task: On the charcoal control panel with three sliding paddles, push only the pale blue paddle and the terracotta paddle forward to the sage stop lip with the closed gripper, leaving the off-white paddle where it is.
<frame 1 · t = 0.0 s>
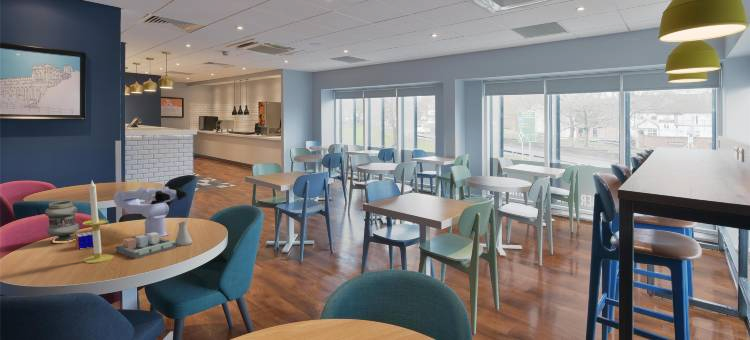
hand: (177, 195, 183), 22 cm above the table, tool horizontal, fingers open, 7 cm apart
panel: (146, 249, 175), on the table
paddle white: (153, 238, 180), point 3 cm above the table, slide at 0.0 cm
paddle blue: (141, 240, 176), point 3 cm above the table, slide at 0.0 cm
paddle terracotta: (129, 243, 172), point 3 cm above the table, slide at 0.0 cm
rubik's cube: (85, 247, 178), on the table
apothecary jar: (64, 241, 186), on the table
candle: (98, 259, 163), on the table
flask: (183, 244, 184), on the table
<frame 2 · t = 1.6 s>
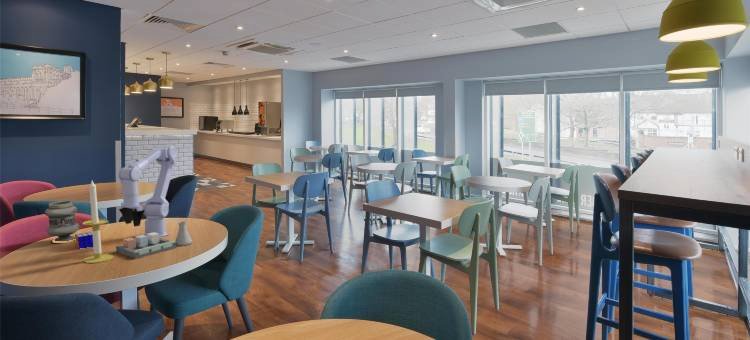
hand: (132, 224, 179), 9 cm above the table, tool pointing down, fingers open, 7 cm apart
nothing on the table moved.
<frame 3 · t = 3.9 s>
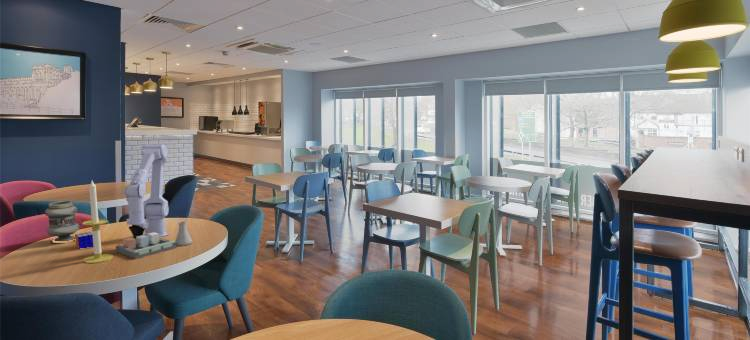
hand: (138, 241, 178), 2 cm above the table, tool pointing down, fingers closed
paddle blue: (142, 241, 176), point 3 cm above the table, slide at 0.5 cm, touching gripper
everything else where it was.
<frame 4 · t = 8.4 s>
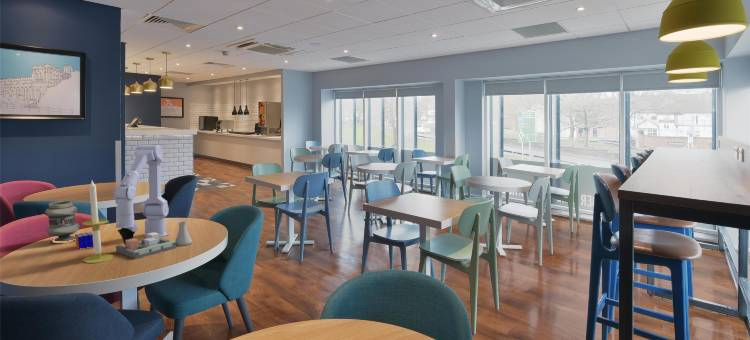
hand: (128, 245, 173), 2 cm above the table, tool pointing down, fingers closed
paddle blue: (150, 243, 172), point 3 cm above the table, slide at 7.5 cm
paddle terracotta: (132, 244, 171), point 3 cm above the table, slide at 2.0 cm, touching gripper
everything else where it was.
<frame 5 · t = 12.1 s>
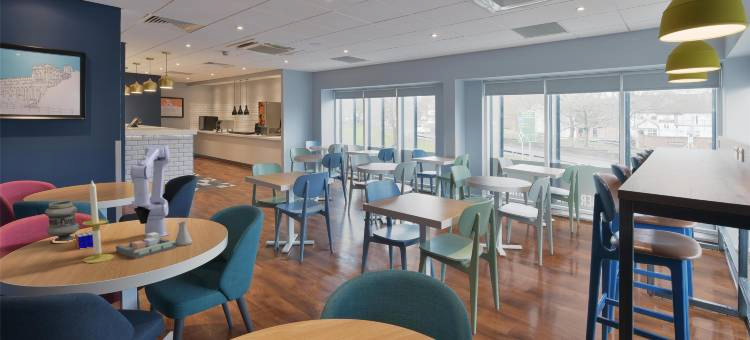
hand: (143, 223, 178), 10 cm above the table, tool pointing down, fingers closed
paddle terracotta: (138, 246, 168), point 3 cm above the table, slide at 7.5 cm
everything else where it was.
at the end: paddle blue slide at 7.5 cm; paddle terracotta slide at 7.5 cm; paddle white slide at 0.0 cm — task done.
